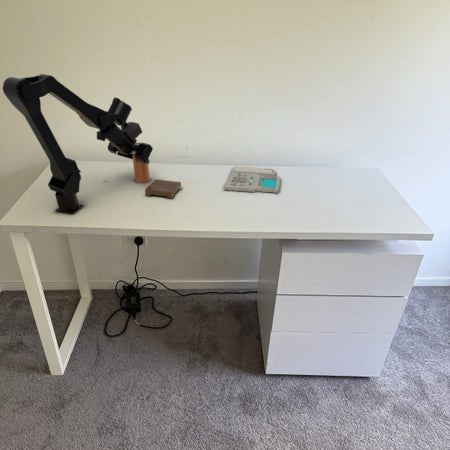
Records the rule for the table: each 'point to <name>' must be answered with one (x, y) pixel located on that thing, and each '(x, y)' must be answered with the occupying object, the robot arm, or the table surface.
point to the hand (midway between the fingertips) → (143, 161)
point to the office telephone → (253, 180)
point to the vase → (140, 170)
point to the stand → (163, 188)
